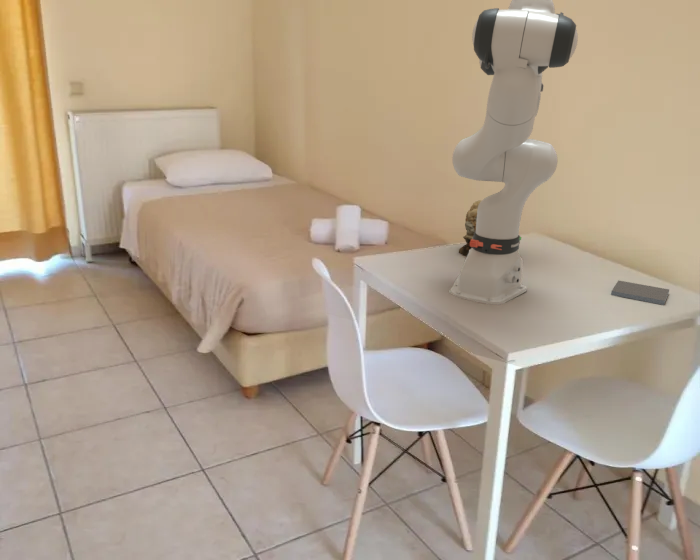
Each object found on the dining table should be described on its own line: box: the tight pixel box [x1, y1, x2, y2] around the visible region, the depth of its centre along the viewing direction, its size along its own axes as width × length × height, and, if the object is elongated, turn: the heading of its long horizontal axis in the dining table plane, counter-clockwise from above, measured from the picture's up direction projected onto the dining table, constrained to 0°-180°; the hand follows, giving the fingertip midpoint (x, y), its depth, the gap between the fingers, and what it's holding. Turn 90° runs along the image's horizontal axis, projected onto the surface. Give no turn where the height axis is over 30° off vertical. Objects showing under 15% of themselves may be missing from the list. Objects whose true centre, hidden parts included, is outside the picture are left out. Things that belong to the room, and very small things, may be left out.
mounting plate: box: [610, 279, 670, 306], centre depth 177 cm, size 10×13×1 cm
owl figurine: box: [458, 199, 483, 257], centre depth 206 cm, size 18×12×17 cm, turn 141°
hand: (519, 135), depth 195 cm, fingers open, 8 cm apart
